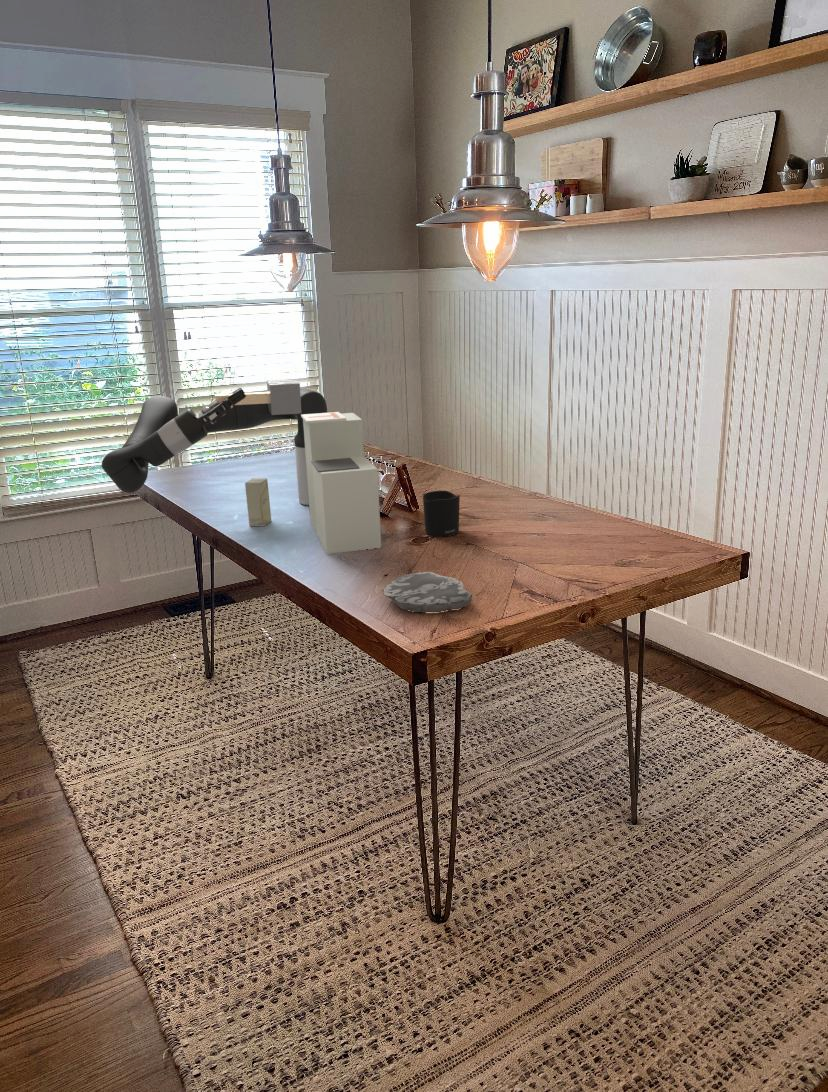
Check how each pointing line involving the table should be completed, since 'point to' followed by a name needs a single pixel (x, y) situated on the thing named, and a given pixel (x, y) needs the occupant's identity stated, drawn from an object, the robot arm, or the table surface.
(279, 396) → the mallet
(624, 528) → the table surface
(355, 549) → the stepped stand
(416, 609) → the brain slice
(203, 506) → the table surface
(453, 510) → the pen holder
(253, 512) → the skincare box
